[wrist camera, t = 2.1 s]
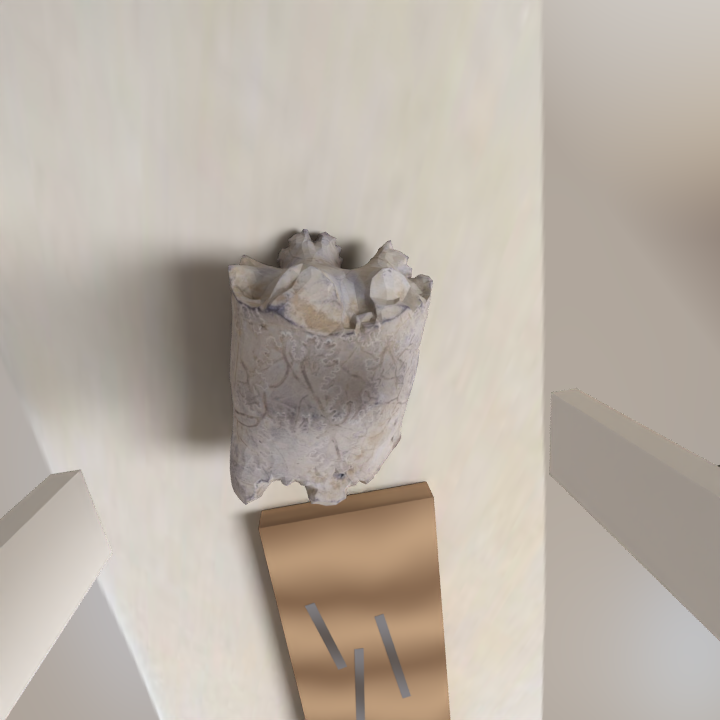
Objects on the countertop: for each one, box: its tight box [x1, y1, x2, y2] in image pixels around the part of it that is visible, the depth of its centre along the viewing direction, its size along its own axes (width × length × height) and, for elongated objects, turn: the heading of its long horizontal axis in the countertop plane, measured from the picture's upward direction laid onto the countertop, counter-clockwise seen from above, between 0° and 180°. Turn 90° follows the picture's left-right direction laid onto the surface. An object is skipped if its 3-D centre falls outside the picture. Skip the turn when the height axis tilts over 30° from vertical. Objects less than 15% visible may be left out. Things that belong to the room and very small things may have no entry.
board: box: [258, 482, 450, 720], centre depth 27 cm, size 24×10×2 cm, turn 7°
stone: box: [228, 229, 433, 506], centre depth 18 cm, size 8×12×7 cm, turn 173°
